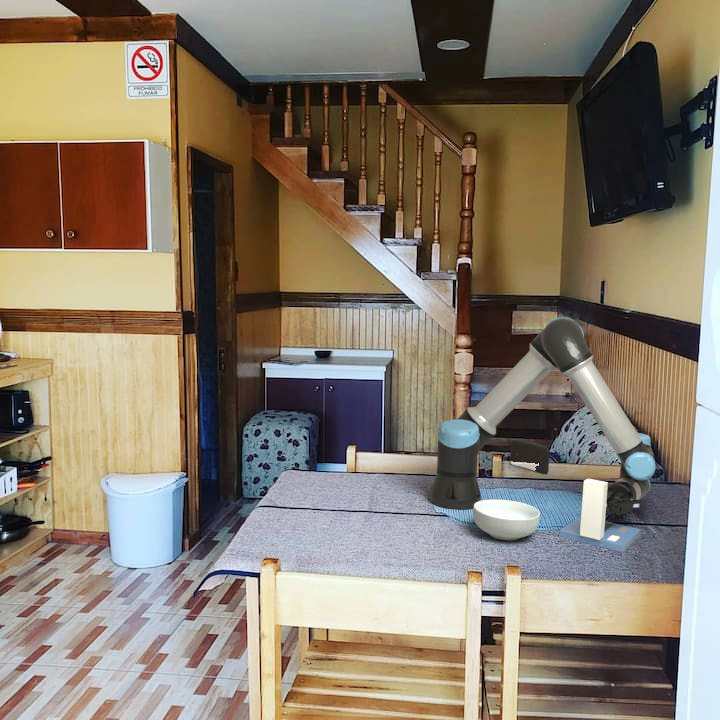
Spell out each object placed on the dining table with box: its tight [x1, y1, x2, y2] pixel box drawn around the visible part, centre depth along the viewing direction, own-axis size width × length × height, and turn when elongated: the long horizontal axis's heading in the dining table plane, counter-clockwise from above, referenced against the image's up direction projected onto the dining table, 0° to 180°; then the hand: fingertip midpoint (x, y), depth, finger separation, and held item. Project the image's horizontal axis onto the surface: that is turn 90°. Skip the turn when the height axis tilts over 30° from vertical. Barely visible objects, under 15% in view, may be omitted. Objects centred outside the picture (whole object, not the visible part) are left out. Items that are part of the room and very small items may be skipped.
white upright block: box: [580, 478, 609, 540], centre depth 170 cm, size 3×5×14 cm, turn 53°
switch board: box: [558, 515, 642, 553], centre depth 177 cm, size 16×16×2 cm
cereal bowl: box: [472, 499, 541, 541], centre depth 174 cm, size 17×17×7 cm
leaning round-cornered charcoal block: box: [509, 439, 551, 475], centre depth 242 cm, size 16×5×9 cm, turn 39°
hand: (595, 514), depth 172 cm, fingers closed
